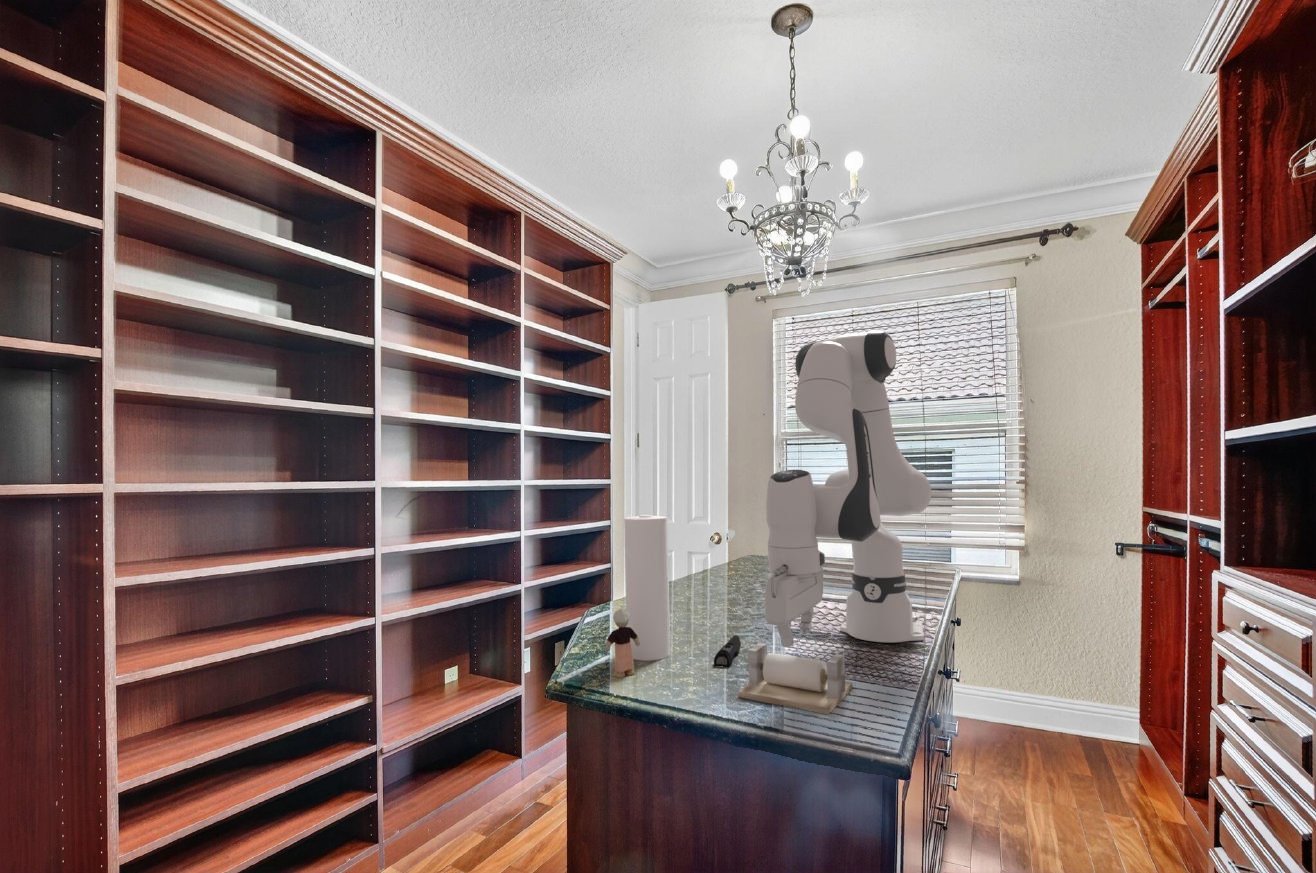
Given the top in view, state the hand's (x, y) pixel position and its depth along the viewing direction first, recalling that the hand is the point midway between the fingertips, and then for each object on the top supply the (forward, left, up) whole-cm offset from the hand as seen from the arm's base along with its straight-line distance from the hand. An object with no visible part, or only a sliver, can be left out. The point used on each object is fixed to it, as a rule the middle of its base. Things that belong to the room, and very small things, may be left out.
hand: (796, 638), depth 113 cm
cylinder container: (-6, -36, -10) cm, 38 cm away
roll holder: (+1, 0, -9) cm, 9 cm away
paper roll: (-1, 0, -8) cm, 8 cm away
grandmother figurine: (+8, -33, -10) cm, 35 cm away
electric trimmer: (-13, -20, -10) cm, 26 cm away
